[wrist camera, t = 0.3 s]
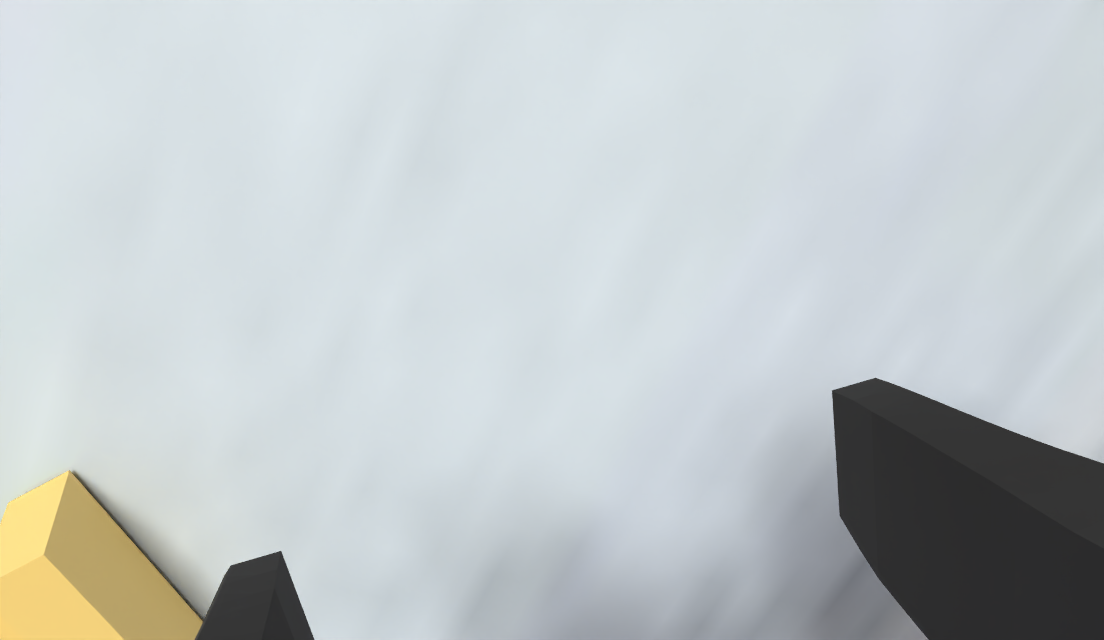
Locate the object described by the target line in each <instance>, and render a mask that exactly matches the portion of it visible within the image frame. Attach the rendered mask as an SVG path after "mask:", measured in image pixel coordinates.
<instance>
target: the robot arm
mask: <svg viewBox="0 0 1104 640" xmlns="http://www.w3.org/2000/svg"><path fill="white" fill-rule="evenodd" d="M832 397H833V413H834V429H835V446H836V462H837V478H838V495H839V511H840V517H841V519H842V520H843V522H844V524H845V525H846V527H847V529H848V530H849V532H850V534H851V535H852V537H853V539H854V540H855V542H856V544H857V545H858V547H859V549H860V550H861V552H862V553H863V555H864V557H865V558H866V560H867V561H868V563H869V564H870V566H871V567H872V569H873V571H874V572H875V574H876V575H877V577H878V578H879V580H880V581H881V582H882V583H883V585H884V586H885V587H886V588H887V590H888V591H889V592H890V593H891V595H892V596H893V597H894V598H895V599H896V601H897V602H898V603H899V604H900V605H901V607H902V608H903V609H904V610H905V612H906V613H907V614H908V615H909V616H910V618H911V619H912V620H913V621H914V623H915V624H916V625H917V626H918V627H919V629H920V630H921V631H922V632H923V633H924V635H925V636H926V637H927V638H928V639H929V640H1104V464H1103V463H1100V462H1097V461H1094V460H1091V459H1088V458H1085V457H1082V456H1079V455H1076V454H1073V453H1070V452H1067V451H1064V450H1061V449H1058V448H1055V447H1053V446H1050V445H1047V444H1044V443H1042V442H1039V441H1036V440H1033V439H1031V438H1028V437H1025V436H1023V435H1020V434H1017V433H1015V432H1012V431H1009V430H1007V429H1004V428H1002V427H999V426H997V425H994V424H992V423H989V422H987V421H984V420H982V419H979V418H977V417H974V416H972V415H969V414H967V413H964V412H962V411H959V410H957V409H954V408H952V407H949V406H947V405H945V404H942V403H940V402H937V401H935V400H932V399H930V398H927V397H925V396H922V395H920V394H917V393H915V392H913V391H910V390H907V389H905V388H902V387H900V386H897V385H894V384H892V383H889V382H886V381H883V380H880V379H877V378H874V379H870V380H867V381H863V382H860V383H856V384H853V385H849V386H846V387H843V388H839V389H836V390H832ZM195 640H314V638H313V635H312V632H311V630H310V627H309V624H308V622H307V619H306V616H305V614H304V611H303V608H302V606H301V603H300V600H299V598H298V595H297V592H296V590H295V587H294V584H293V582H292V579H291V576H290V574H289V571H288V568H287V566H286V563H285V560H284V558H283V555H282V552H281V551H279V552H276V553H273V554H269V555H266V556H262V557H259V558H255V559H252V560H249V561H245V562H242V563H238V564H235V565H231V566H230V568H229V569H228V571H227V572H226V574H225V576H224V578H223V580H222V582H221V584H220V586H219V588H218V591H217V593H216V595H215V597H214V599H213V602H212V604H211V606H210V608H209V610H208V612H207V615H206V617H205V619H204V621H203V623H202V625H201V627H200V629H199V631H198V633H197V636H196V638H195Z"/></svg>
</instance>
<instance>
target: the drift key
mask: <svg viewBox="0 0 1104 640" xmlns="http://www.w3.org/2000/svg"><path fill="white" fill-rule="evenodd" d="M202 623H203V621H202V620H201V619H200V618H199V617H198V616H197V615H196V613H195V612H194V611H193V610H192V609H191V608H190V607H189V605H188V604H187V603H186V602H185V601H184V600H183V599H182V597H181V596H180V595H179V594H178V593H177V592H176V591H175V590H174V588H173V587H172V586H171V585H170V584H169V583H168V582H167V580H166V579H165V578H164V577H163V576H162V575H161V574H160V573H159V571H158V570H157V569H156V568H155V567H154V566H153V565H152V563H151V562H150V561H149V560H148V559H147V558H146V557H145V556H144V554H143V553H142V552H141V551H140V550H139V549H138V548H137V546H136V545H135V544H134V543H133V542H132V541H131V540H130V538H129V537H128V536H127V535H126V534H125V533H124V532H123V531H122V529H121V528H120V527H119V526H118V525H117V524H116V523H115V521H114V520H113V519H112V518H111V517H110V516H109V515H108V514H107V512H106V511H105V510H104V509H103V508H102V507H101V506H100V504H99V503H98V502H97V501H96V500H95V499H94V498H93V497H92V495H91V494H90V493H89V492H88V491H87V490H86V489H85V487H84V486H83V485H82V484H81V483H80V482H79V481H78V480H77V478H76V477H75V476H74V475H73V474H72V473H71V472H70V470H69V471H67V472H65V473H63V474H62V475H60V476H58V477H56V478H54V479H52V480H50V481H48V482H46V483H45V484H43V485H41V486H39V487H37V488H35V489H33V490H31V491H29V492H27V493H26V494H24V495H22V496H20V497H18V498H16V499H14V500H12V501H10V502H9V503H8V505H7V508H6V510H5V513H4V515H3V518H2V521H1V523H0V640H195V638H196V636H197V633H198V631H199V629H200V627H201V625H202Z"/></svg>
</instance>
